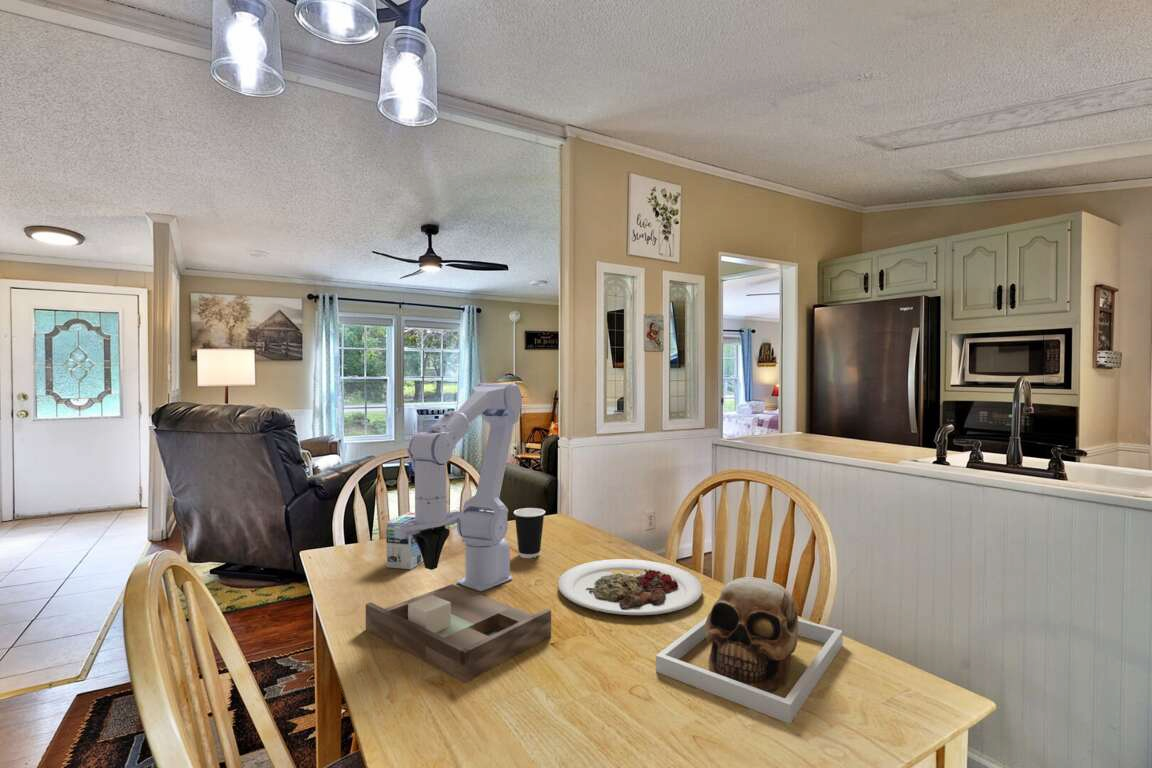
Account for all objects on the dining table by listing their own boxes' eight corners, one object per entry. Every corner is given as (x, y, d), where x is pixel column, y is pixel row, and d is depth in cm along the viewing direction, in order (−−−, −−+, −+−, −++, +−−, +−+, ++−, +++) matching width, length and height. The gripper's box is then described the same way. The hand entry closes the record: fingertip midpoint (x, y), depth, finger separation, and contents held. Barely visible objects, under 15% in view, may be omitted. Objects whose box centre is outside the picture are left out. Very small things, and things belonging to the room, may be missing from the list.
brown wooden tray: (451, 596, 112) (451, 574, 112) (551, 635, 95) (551, 610, 95) (365, 629, 97) (365, 604, 97) (464, 683, 80) (464, 652, 80)
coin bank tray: (728, 612, 105) (728, 599, 105) (842, 645, 92) (842, 630, 92) (655, 671, 84) (656, 655, 84) (790, 724, 71) (790, 704, 71)
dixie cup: (507, 554, 139) (507, 510, 139) (534, 548, 144) (534, 506, 144) (524, 562, 133) (524, 517, 133) (551, 556, 138) (551, 512, 137)
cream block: (432, 617, 96) (432, 595, 96) (450, 625, 93) (450, 602, 93) (408, 627, 92) (408, 604, 92) (426, 636, 89) (426, 612, 89)
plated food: (528, 592, 115) (528, 576, 115) (617, 558, 137) (617, 544, 137) (645, 639, 95) (645, 619, 95) (728, 590, 117) (728, 574, 117)
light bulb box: (411, 570, 127) (411, 523, 127) (385, 568, 129) (385, 522, 128) (432, 555, 138) (432, 512, 138) (407, 553, 139) (407, 511, 139)
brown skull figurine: (721, 698, 76) (722, 596, 78) (687, 649, 94) (688, 567, 95) (833, 698, 77) (832, 598, 79) (778, 650, 95) (778, 568, 96)
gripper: (447, 487, 111) (448, 553, 112) (384, 500, 100) (384, 574, 100) (471, 491, 107) (471, 560, 107) (407, 505, 96) (407, 583, 96)
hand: (431, 567), depth 104 cm, fingers closed
